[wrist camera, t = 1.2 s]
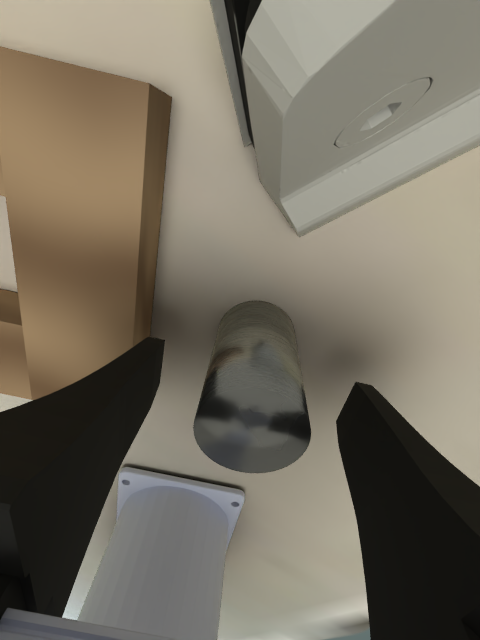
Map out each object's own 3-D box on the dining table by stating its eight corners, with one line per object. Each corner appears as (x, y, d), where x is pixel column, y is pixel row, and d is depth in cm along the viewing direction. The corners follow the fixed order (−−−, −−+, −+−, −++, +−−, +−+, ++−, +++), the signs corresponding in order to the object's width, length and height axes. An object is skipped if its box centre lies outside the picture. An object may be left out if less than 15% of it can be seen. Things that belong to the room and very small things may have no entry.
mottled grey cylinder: (282, 373, 16) (291, 482, 11) (212, 357, 16) (186, 460, 11) (304, 310, 14) (327, 403, 9) (226, 293, 14) (203, 376, 9)
